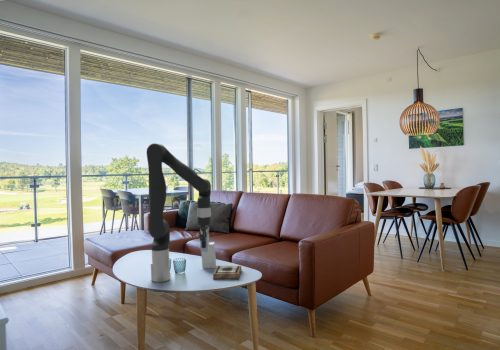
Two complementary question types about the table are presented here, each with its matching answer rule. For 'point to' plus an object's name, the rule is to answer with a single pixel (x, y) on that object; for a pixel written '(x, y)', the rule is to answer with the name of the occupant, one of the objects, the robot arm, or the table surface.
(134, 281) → the table surface
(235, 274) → the walnut box
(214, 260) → the skincare box
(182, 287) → the table surface
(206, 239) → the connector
